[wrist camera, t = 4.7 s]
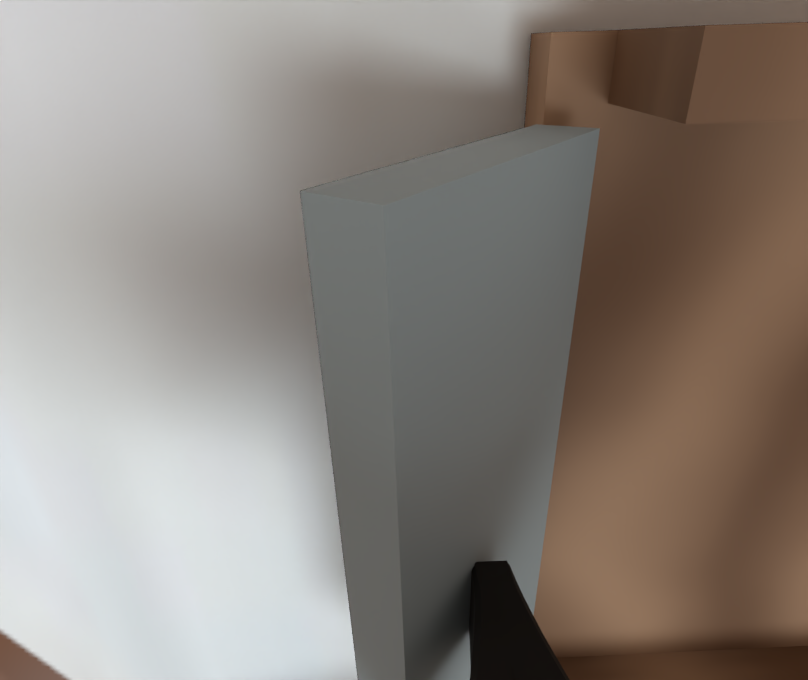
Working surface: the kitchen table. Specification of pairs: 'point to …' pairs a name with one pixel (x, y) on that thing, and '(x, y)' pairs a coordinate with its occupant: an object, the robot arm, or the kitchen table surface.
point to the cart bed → (683, 357)
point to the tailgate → (445, 376)
